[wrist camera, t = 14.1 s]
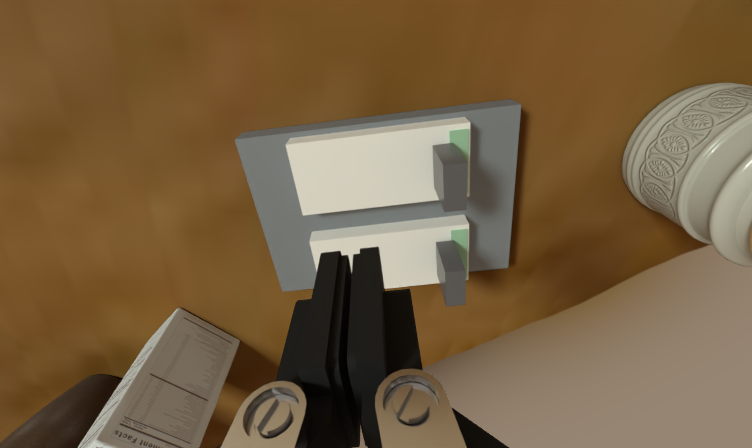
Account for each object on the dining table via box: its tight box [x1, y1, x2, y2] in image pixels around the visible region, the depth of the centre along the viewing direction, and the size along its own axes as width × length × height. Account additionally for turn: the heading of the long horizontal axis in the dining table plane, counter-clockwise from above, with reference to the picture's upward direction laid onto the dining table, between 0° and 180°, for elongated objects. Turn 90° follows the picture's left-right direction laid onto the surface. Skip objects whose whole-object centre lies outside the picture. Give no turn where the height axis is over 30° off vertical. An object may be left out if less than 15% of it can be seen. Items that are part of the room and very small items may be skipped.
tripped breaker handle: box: [432, 143, 467, 212], centre depth 30 cm, size 4×2×5 cm, turn 7°
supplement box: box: [78, 308, 240, 448], centre depth 41 cm, size 10×9×17 cm
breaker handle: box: [436, 240, 466, 307], centre depth 35 cm, size 4×2×5 cm, turn 7°
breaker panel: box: [235, 99, 521, 292], centre depth 37 cm, size 18×26×5 cm
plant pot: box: [0, 375, 122, 448], centre depth 46 cm, size 15×15×16 cm
